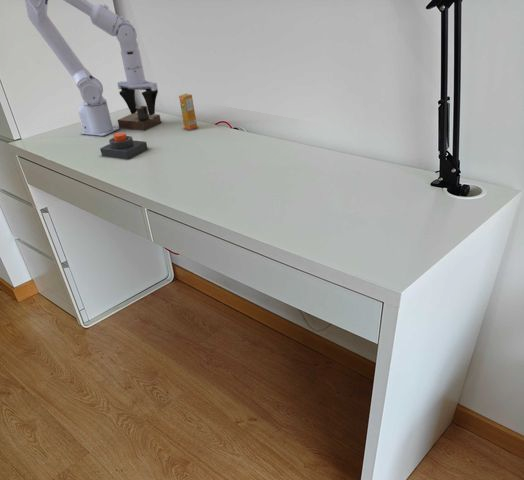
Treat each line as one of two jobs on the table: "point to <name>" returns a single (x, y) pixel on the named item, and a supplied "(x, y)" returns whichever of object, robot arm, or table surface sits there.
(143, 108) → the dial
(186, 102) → the supplement box
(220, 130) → the table surface
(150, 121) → the brown wooden block
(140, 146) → the switch block
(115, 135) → the button
